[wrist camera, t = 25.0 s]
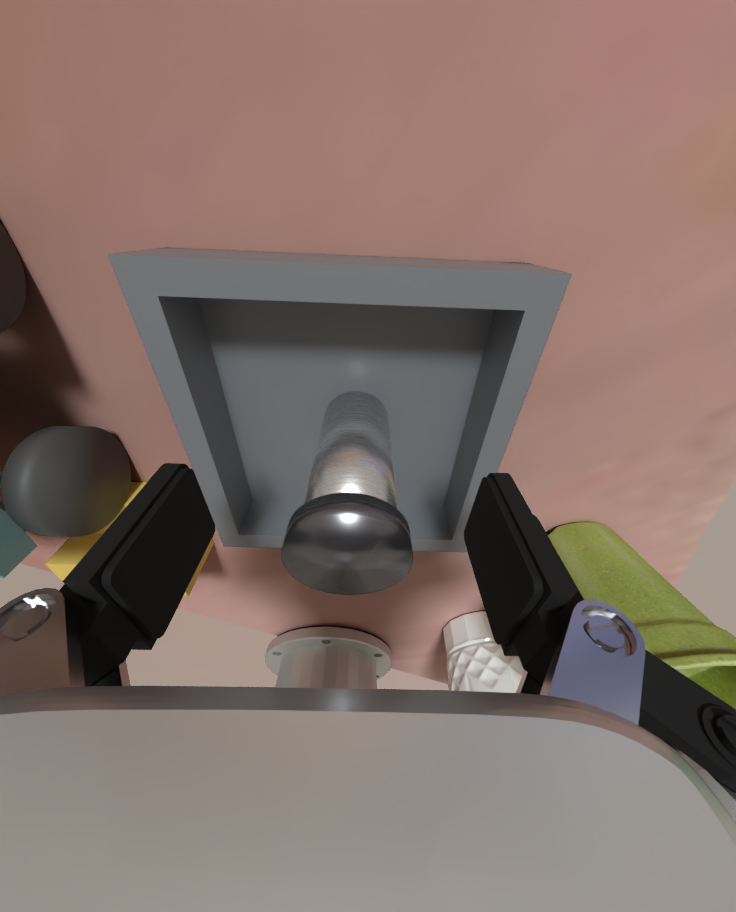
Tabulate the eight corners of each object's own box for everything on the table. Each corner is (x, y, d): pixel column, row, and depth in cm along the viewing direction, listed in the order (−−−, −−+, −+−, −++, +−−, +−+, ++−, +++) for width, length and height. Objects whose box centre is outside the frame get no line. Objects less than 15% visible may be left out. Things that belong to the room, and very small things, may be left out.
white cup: (458, 600, 26) (499, 772, 18) (541, 613, 27) (615, 778, 19) (423, 640, 30) (443, 791, 22) (496, 649, 31) (539, 795, 23)
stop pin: (391, 452, 16) (405, 595, 10) (320, 450, 15) (289, 593, 10) (398, 386, 13) (421, 517, 7) (315, 383, 13) (271, 513, 7)
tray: (454, 510, 19) (467, 552, 17) (242, 505, 19) (223, 546, 16) (528, 262, 11) (571, 273, 9) (164, 247, 11) (107, 254, 8)
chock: (215, 540, 21) (188, 596, 18) (119, 537, 21) (75, 593, 18) (190, 480, 18) (152, 536, 15) (76, 477, 18) (13, 533, 15)
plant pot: (508, 505, 19) (590, 670, 12) (672, 495, 18) (857, 662, 11) (487, 588, 24) (534, 733, 17) (611, 582, 24) (710, 729, 17)
